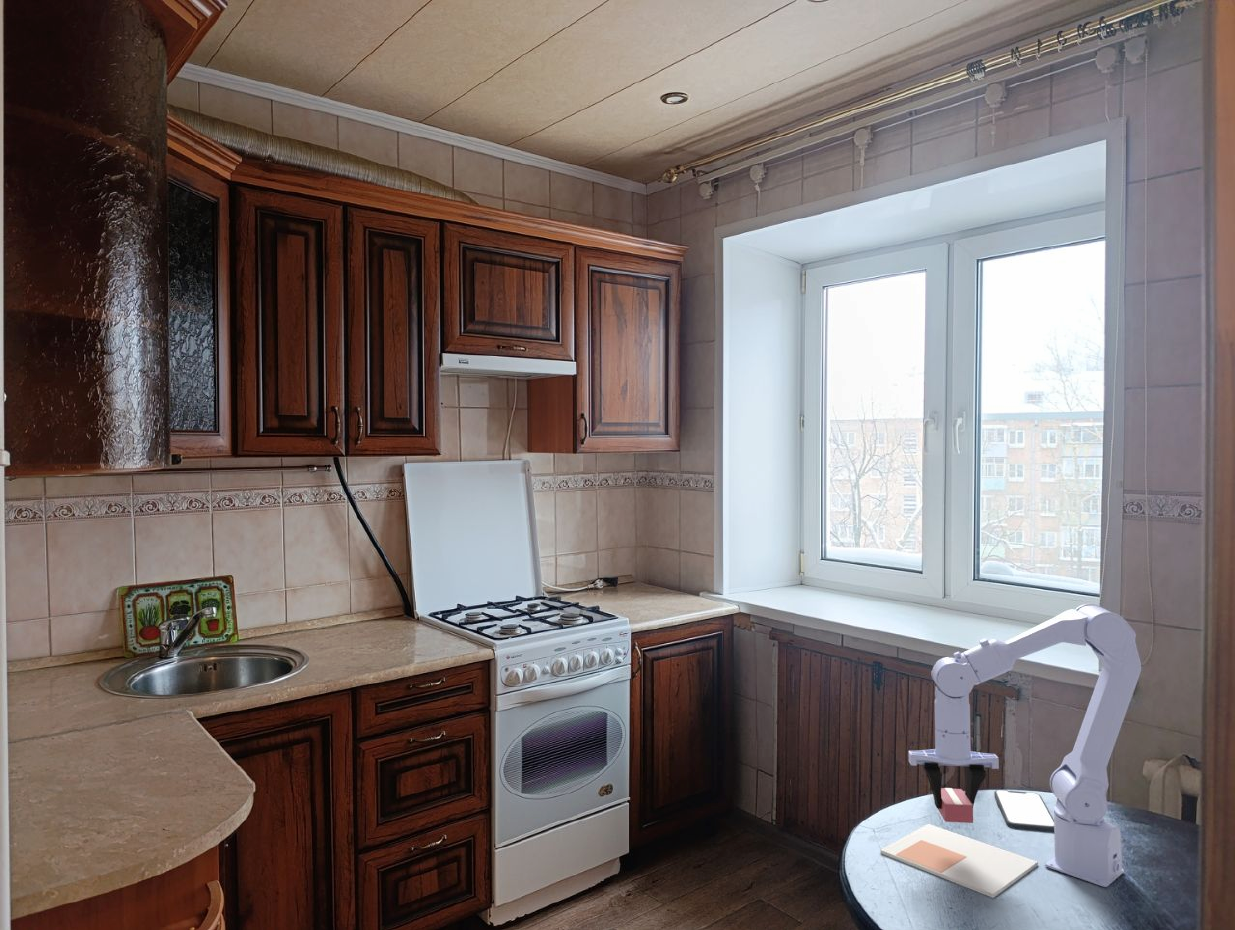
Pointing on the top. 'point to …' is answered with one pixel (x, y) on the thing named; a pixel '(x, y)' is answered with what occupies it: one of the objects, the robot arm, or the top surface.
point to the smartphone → (1024, 810)
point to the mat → (960, 859)
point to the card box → (956, 806)
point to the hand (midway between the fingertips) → (953, 807)
